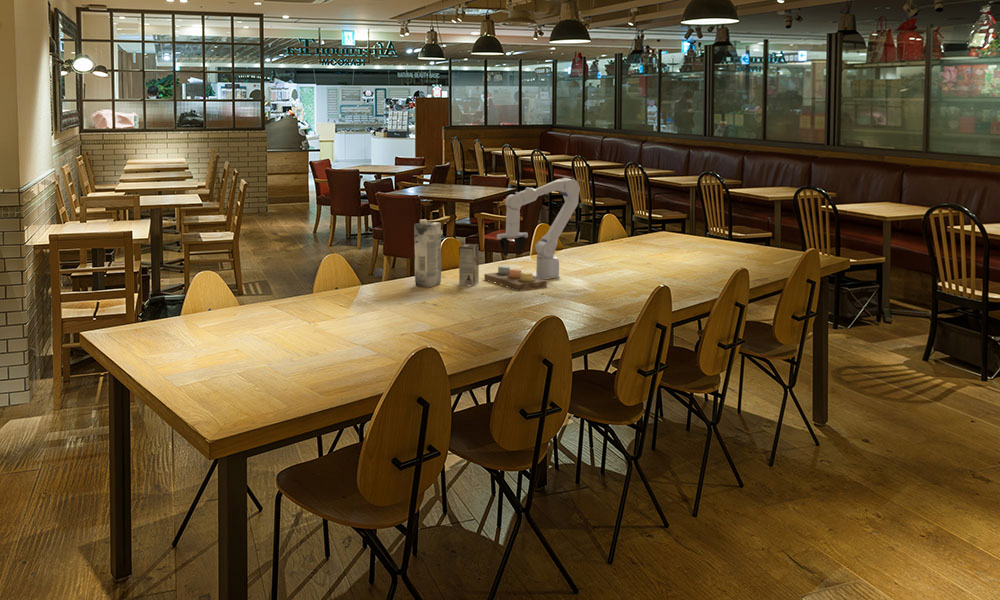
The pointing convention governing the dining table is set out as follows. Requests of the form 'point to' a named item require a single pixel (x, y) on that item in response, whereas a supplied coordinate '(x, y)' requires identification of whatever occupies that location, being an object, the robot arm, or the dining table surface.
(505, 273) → the button blue
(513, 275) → the button terracotta
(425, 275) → the juice carton
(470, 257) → the coffee box
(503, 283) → the board
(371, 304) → the dining table surface
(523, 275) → the button ochre
